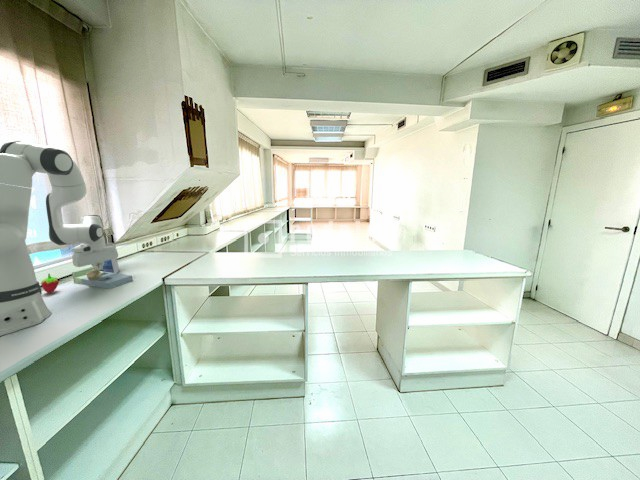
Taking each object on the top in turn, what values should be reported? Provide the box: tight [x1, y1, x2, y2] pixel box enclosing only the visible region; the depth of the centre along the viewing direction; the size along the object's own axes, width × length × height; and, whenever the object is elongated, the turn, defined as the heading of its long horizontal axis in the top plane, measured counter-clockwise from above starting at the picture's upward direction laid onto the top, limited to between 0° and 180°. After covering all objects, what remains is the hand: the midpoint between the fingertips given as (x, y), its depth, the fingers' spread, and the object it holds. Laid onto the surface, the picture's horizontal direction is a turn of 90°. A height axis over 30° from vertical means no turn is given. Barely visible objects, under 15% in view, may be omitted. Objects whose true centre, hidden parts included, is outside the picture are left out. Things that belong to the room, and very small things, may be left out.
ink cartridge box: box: [103, 257, 120, 273], centre depth 153 cm, size 10×6×14 cm, turn 25°
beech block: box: [86, 270, 102, 280], centre depth 135 cm, size 4×4×4 cm
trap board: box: [71, 266, 134, 289], centre depth 140 cm, size 12×28×6 cm, turn 71°
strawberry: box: [40, 273, 60, 294], centre depth 125 cm, size 6×7×10 cm
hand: (99, 270), depth 138 cm, fingers closed
